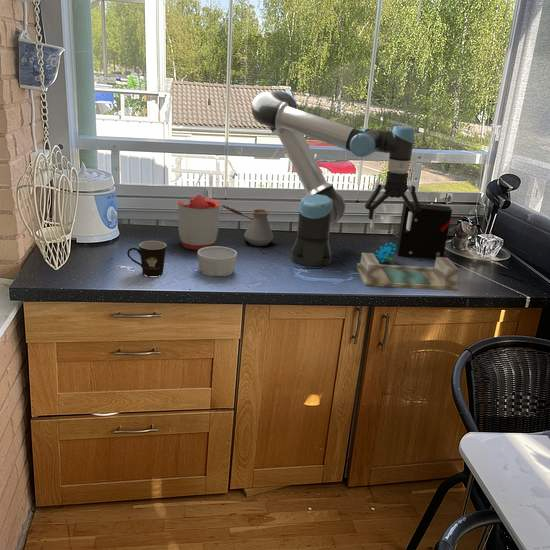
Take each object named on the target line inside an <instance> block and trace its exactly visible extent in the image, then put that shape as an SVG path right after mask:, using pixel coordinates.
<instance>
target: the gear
mask: <svg viewBox="0 0 550 550" xmlns="http://www.w3.org/2000/svg"><path fill="white" fill-rule="evenodd" d="M396 247H397V243H393V242H389V243H385V244H384V246H383V245H381V246H380V247H379V249H380V250H378V249H377V250H376V251H375V253H376V254H374V256H375V257H376V259H377V261H378V262H379V264H385V263H386V262H388V264H389V265H396V264H395V263H394V259H393V258H392V257H394V256H395V255H396V253H397V252H396V251H397V248H396ZM395 252H396V253H395Z"/></svg>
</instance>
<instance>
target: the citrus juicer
mask: <svg viewBox="0 0 550 550" xmlns="http://www.w3.org/2000/svg"><path fill="white" fill-rule="evenodd" d="M177 205H178V208H177V214H178V218H177V219H178V220H177V226H178V227H177V228H178V229H177V230H178V235H179V238H180V243H181V244H182V246H183V247H184V248H186V249H188V250H195V251H197V250H200V249H202V248H205V247H211V246H215V243H216V240H217V237H218V233H219V226H220V206H221V203H220V202H219V201H218V200H215V199H212V198H205V197H203V196H202V195H201V194H197V195H196V196H195V197H190V198H189V203H187V204H184V202H183V201H182V200H178V201H177Z"/></svg>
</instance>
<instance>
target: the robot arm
mask: <svg viewBox="0 0 550 550" xmlns="http://www.w3.org/2000/svg"><path fill="white" fill-rule="evenodd" d="M251 114H252V116H253V119H255V121H257V123H259V124H260V125H263V126H266V127H269V129H270V131H271V133H272V134H273V135H276V136H278V138H279V141H280V142H281V144H282V146H283V148H284V150H285V152H286V154H287V156H288V158H289V160H290V162H291V164H292V166H293V169H294V170H295V173H296V174H297V176H298V179H299V180H300V182H301V184H302V187H303V189H304V190H305V196H304V197H302V198H301V200H300V204H299V207H298V221H297V222H298V223H297V234H296V235H297V236H296V240H295V242H294V244H293V246H292V248H291V251H290V260H291V261H292V262H293V263H296V264H298V265H301V266H305V267H306V266H307V267H325V266H328V265H330V264H331V263H332V252H331V246H330V243H329V237H330V230H331V226H332V225H333V224H335V223H337V222H338V221H340V220H341V218H342V217H343V215H344V214H345V211H346V202H345V199H344V197H343V196H342V194H340V193H339V192H337V191H336V189H335V187H334V186H333V184H332V183H329V182H327V181H326V178H325V176H324V174H323V172H322V170H321V168H320V166H319V164H318V162H317V160H316V158H315V156H314V154H313V152H312V149H311V148H310V145H309V144H308V141H307V139H306V138H305V136H306V137H308V138H311V139H314V140H316V141H320V142H323V143H326V144H328V145H332V146H334V147H337V148H340V149H343V150H346V151H349V152H351V153H352V155H355V156H356V157H359V158H362V157H363V158H365V157H367V156H370V155H372V154H374V153H375V152H377V153H385V154H389V155H388V156H389V157H388V164H387V170H388V171H387V172H386V178H385V179H386V180H385V184H383V183H382V184H381V183H379V182H377V183H376V185H375V189H374V190H373V192H372V194H371V195H370V196H369V198H368V200H367V201H366V203H365V204H364V208H365V209H366V210H368V219H369V220H370V224H369V228H370V229H371V230H374V227H375V221H376V220H375V219H376V209H377V208H378V207H379V206H380V205H381V204H382V203H384V202H385V200H386V199H388V198H389V197H390V198H398V199H399V198H402V200H403V201H404V202H405V203H406V204H407V206H408V207H409V209H410V210H411V212H409V213H408V219H407V226H406V229H407V230H408V231H410V227H411V221H412V222H413V221H414V218H415V214H416V212H420V211H421V208H420V205H419V204H420V203H419V199H418V197H417V193H416V186H415V185H413V184H411V185H408V181H409V172H410V168H411V167H410V166H411V160H412V159H411V158H412V152H413V147H414V143H415V141H414V138H415V129H414V128H413V127H410V126H407V125H405V126H401V125H395V126H393V127H392V128H393V129H392V130H391V131H390V130H389V131H388V130H381V129H374V128H361V129H356V128H355V127H354V128H353V127H351V126H350V125H349V126H348V125H345V124H342V123H340V122H336V121H333V120H331V119H327V118H325V117H321V116H318V115H316V114H312V113H310V112H306V111H303V110H301V109H298V104H297V101H296V99H295V97H294V96H293V95H292V94H290V93H289V92H287V91H284V90H275V91H273V90H272V91H263V92H260V93H259V94H257V95H256V96H255V98H253V101H252V103H251ZM383 189H384V192H383V193H382V195H380V197H378V196H379V194H380V192H381V191H382V190H383ZM407 191H408V192H409V193H410V196H411V198H412V201H413V202H411V201H410V200H409V199H408V196H407V195H406V192H407ZM377 197H378V198H377ZM376 198H377V200H376ZM411 203H414V205H415V208H414V207H413V206H412V204H411Z"/></svg>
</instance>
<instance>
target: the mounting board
mask: <svg viewBox="0 0 550 550" xmlns="http://www.w3.org/2000/svg"><path fill="white" fill-rule="evenodd" d="M374 255H375V254H374V253H372V252H361V256H360V262H359V263H358V262H357V263H356V268H355V269H356V271H357V273H358V275H359V277H360V279H361V281H362V282H363V285H364V286H365V285H369V286H368V287H384V286H392V287H391V288H403V287H407V288H406V289H421V290H422V289H424V290H427V289H428V290H443V291H444V290H445V291H446V290H447V291H458V289H459V286H458V285H457V282H458V277H459V272H460V271H459V270H460V269H459V268H458V267H457V265H455V264H454V262H453V261H452V260H451V259H449V258H448V257H444V256H443V257H436V259H435V261H434V262H435V263H434V267H433V266H418V265H417V266H416V265H415V266H414V265H413V266H411V265H400V264H399V265H398V264H397V265H396V264H395V265H392V264H383V263H380V264H379V262H378V261H377V259H376V257H375V256H374Z"/></svg>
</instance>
